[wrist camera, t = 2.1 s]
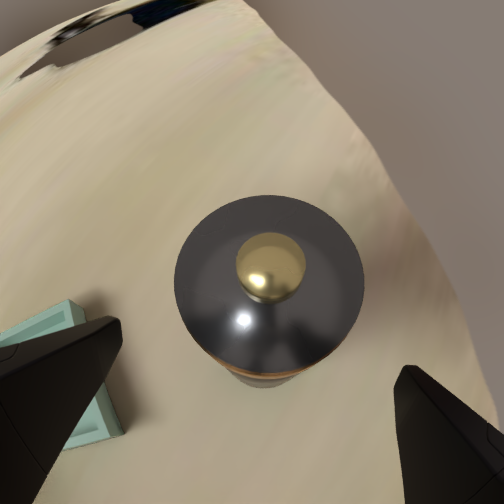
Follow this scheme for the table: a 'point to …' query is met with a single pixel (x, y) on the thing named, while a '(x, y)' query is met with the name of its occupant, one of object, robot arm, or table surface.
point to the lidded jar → (268, 287)
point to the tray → (100, 409)
